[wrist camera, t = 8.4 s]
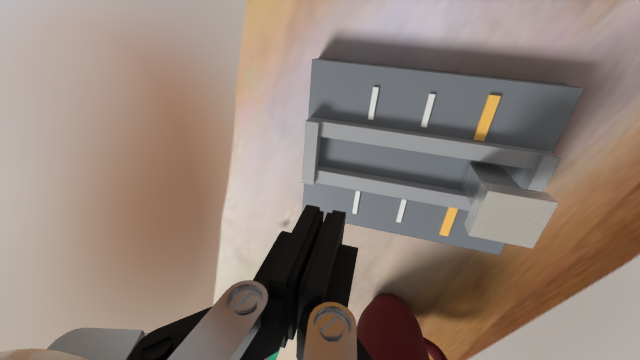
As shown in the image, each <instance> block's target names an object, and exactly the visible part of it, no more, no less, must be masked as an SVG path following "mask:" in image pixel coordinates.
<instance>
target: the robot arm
mask: <svg viewBox="0 0 640 360" xmlns="http://www.w3.org/2000/svg"><path fill="white" fill-rule="evenodd" d="M345 218H346V212H342V211H337V210H333V211H332V213H329V212H327V214H326V217H325V220H324V222H323V219H324V211H320V207H317V206H312V205H306V206H305V208H304V210H303V212H302V214H301V216H300V218H299V220H298V222H297V224H296V226H295V227H294V229H293V231H292V233H289V232H285V231H282V232H281V233H280V234H279V236H278V238H277V239H276V241H275V243H274V244H273V246H272V248H271V250H270V251H269V253H268V255H267V257H266V258H265V260H264V262H263V264H262V265H261V267H260V269H259V271H258V272H257V274H256V276H255V278H254V279H253V281H252V280H249V281H241V282H238V283H236V284H234V285H232V286H231V287H230V288H229V289H228V290H226V292H225V293H224V294H223V295H222V296H221V297H220V299H219V300H218V301H217V302H216V303H215V304H214V306H212V307H210V308H207V309H205V310H203V311H200V312H198V313H195V314H193V315H190V316H188V317H185V318H183V319H180V320H178V321H175V322H173V323H171V324H168V325H166V326H163V327H161V328H158V329H156V330H154V331H152V332H150V333H144V332H143V330H127V329H103V328H80V329H75V330H72V331H70V332H68V333H66V334H64V335H63V336H61V337H59V338H58V339H57V340H55V341H54V342H53V343H52V344H51V345H50V346H49V347H48V348H47V349H16V350H9V351H2V352H0V360H269V358H270V356H271V355H273V354H275V353H277V352H278V351H279V349H280V347H283V348H285V346H286V343H287V341H288V339H290V340H293V339H294V336H295V333H296V330H297V355H296V357H297V359H298V360H373V359H372V357H371V356H370V355H369V353H368V352H367V350H366V349H365V347H364V346H363V345H362V343H361V342H360V340H359V339H358V337H357V329H356V321H355V318H354V316H353V314H352V313H351V312H350V310H349V309H348V302H349V296H350V291H351V285H352V280H353V274H354V269H355V263H356V258H357V252H358V248H356V247H351V246H347V245H343V244H342V239H343V232H344V225H345Z"/></svg>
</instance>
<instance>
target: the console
mask: <svg viewBox="0 0 640 360" xmlns="http://www.w3.org/2000/svg"><path fill="white" fill-rule="evenodd" d="M583 90H584V89H583V88H578V87H574V86H569V85H563V84H553V83H544V82H535V81H525V80H516V79H507V78H498V77H488V76H479V75H470V74H460V73H451V72H442V71H432V70H423V69H414V68H404V67H395V66H386V65H376V64H367V63H358V62H348V61H339V60H330V59H320V58H317V59H312V70H311V86H310V101H309V116H308V120H307V121H306V127H305V144H304V160H303V176H302V183H304V193H303V208H302V212H303V210H304V208H305V206H306V205H312V206H317V207H320V211H324V219H325V217H326V214H327V212H329V213H332V211H333V210H337V211H342V212H346V218H345V223H347V224H352V225H356V226H361V227H366V228H371V229H376V230H381V231H386V232H390V233H395V234H400V235H405V236H410V237H415V238H419V239H424V240H429V241H434V242H439V243H444V244H449V245H453V246H458V247H463V248H468V249H473V250H478V251H483V252H487V253H492V254H497V255H500V253H501V251H502V249H503V247H504V245H505V243H503V242H498V241H493V240H488V239H483V238H478V237H473V236H469V235H468V232H467V230H466V228H465V225H464V224H465V222H466V219H467V217H468V214H469V212H470V209H471V206H470V204H469V202H468V200H467V198H466V196H465V194H464V192H463V190H462V188H461V184H462V181H463V179H464V176H465V173H466V170H467V168H468V165H469V163H472V164H478V165H485V166H491V167H497V168H503V169H504V170H505V171H506V172H507V173H508V174H509V175H510V176H511V177H512V179H513V180H514V181H515V182H516V183H517V184H518V185H519V186H520V187H521V188H522V189H528V190H534V191H540V192H543V191H544V189H545V187H546V185H547V184H548V182H549V180H550V178H551V176H552V174H553V172H554V170H555V169H556V167H557V165H558V163H559V161H560V158H559V157H557V156H556V155H554V154H553V153H552V151H553V149H554V147H555V145H556V143H557V141H558V140H559V138H560V136H561V134H562V132H563V130H564V128H565V126H566V124H567V122H568V120H569V118H570V116H571V114H572V112H573V110H574V108H575V106H576V104H577V102H578V100H579V98H580V96H581V94H582V92H583Z"/></svg>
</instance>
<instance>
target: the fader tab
mask: <svg viewBox="0 0 640 360" xmlns="http://www.w3.org/2000/svg"><path fill="white" fill-rule="evenodd" d="M461 188H462V190H463V192H464V194H465V196H466V198H467V200H468V202H469V204H470V206H471V209H470V212H469V214H468V217H467V219H466V222H465V224H464V225H465V228H466V230H467V232H468V235H469V236H473V237H478V238H483V239H488V240H493V241H498V242H503V243H508V244H513V245H518V246H523V247H528V248H533V247H534V245H535V243H536V242H537V240H538V238H539V236H540V235H541V233H542V231H543V230H544V228H545V226H546V224H547V223H548V221H549V219H550V217H551V216H552V214H553V212H554V210H555V209H556V207H557V205H558V202H557V201H556V200H555V199H554V198H553V197H552V196H551V195H549V194H548V193H546V192H540V191H534V190H528V189H522V188H521V187H520V186H519V185H518V184H517V183H516V182H515V181H514V180H513V179H512V177H511V176H510V175H509V174H508V173H507V172H506V171H505V170H504V169H503V168H497V167H491V166H485V165H478V164H472V163H469V165H468V168H467V170H466V173H465V176H464V179H463V181H462V184H461Z"/></svg>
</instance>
